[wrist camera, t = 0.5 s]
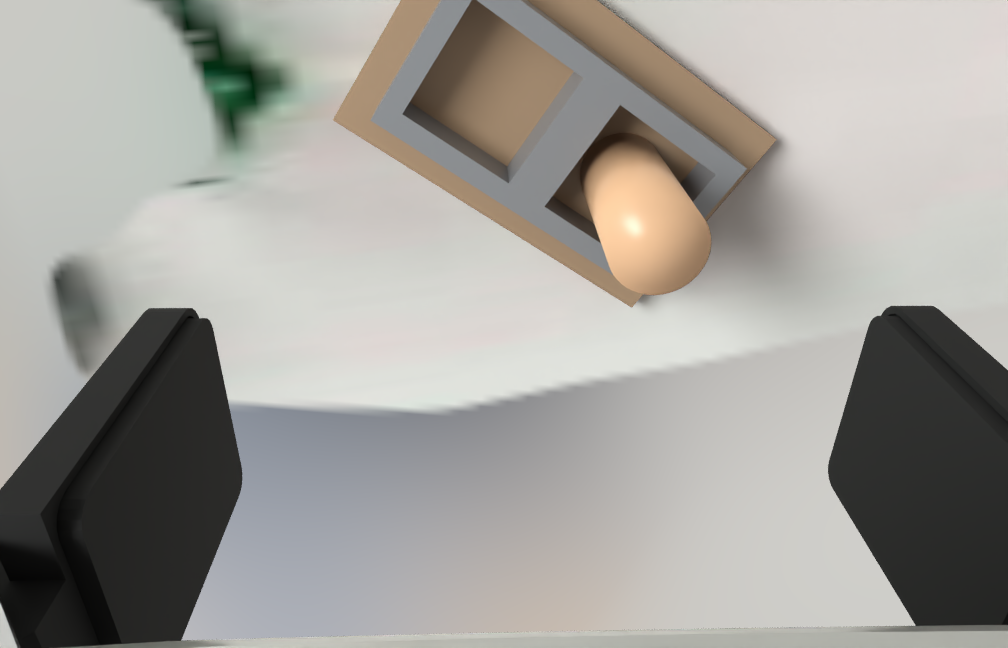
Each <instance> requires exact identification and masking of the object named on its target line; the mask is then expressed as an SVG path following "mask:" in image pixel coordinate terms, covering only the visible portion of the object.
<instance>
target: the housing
mask: <svg viewBox="0 0 1008 648" xmlns="http://www.w3.org/2000/svg"><path fill="white" fill-rule="evenodd" d="M333 120H334V121H335V122H337V123H338V124H340V125H342V126H343V127H345V128H346V129H348V130H350V131H351V132H353V133H354V134H356V135H358V136H359V137H361V138H362V139H364V140H365V141H367V142H369V143H370V144H372V145H373V146H375V147H377V148H378V149H380V150H381V151H383V152H385V153H386V154H388V155H389V156H391V157H393V158H394V159H396V160H397V161H399V162H401V163H402V164H404V165H405V166H407V167H409V168H410V169H412V170H413V171H415V172H416V173H418V174H420V175H421V176H423V177H424V178H426V179H428V180H429V181H431V182H432V183H434V184H436V185H437V186H439V187H440V188H442V189H444V190H445V191H447V192H448V193H450V194H452V195H453V196H455V197H456V198H458V199H460V200H461V201H463V202H464V203H466V204H467V205H469V206H471V207H472V208H474V209H475V210H477V211H479V212H480V213H482V214H483V215H485V216H487V217H488V218H490V219H491V220H493V221H495V222H496V223H498V224H499V225H501V226H503V227H504V228H506V229H507V230H509V231H511V232H512V233H514V234H515V235H517V236H518V237H520V238H522V239H523V240H525V241H526V242H528V243H530V244H531V245H533V246H534V247H536V248H538V249H539V250H541V251H542V252H544V253H546V254H547V255H549V256H550V257H552V258H554V259H555V260H557V261H558V262H560V263H562V264H563V265H565V266H566V267H568V268H569V269H571V270H573V271H574V272H576V273H577V274H579V275H581V276H582V277H584V278H585V279H587V280H589V281H590V282H592V283H593V284H595V285H597V286H598V287H600V288H601V289H603V290H605V291H606V292H608V293H609V294H611V295H613V296H614V297H616V298H617V299H619V300H620V301H622V302H624V303H625V304H627V305H628V306H630V307H633V305H634V304H635V303H636V302H637V301H638V300H639V299H640V297H641V296H642V295H643V294H646V295H660V294H666V293H670V292H673V291H676V290H678V289H680V288H682V287H684V286H685V285H687V284H688V283H689V282H691V281H692V280H693V279H694V278H695V277H696V276H697V275H698V274H699V273H700V272H701V270H702V269H703V267H704V266H705V264H706V262H707V260H708V257H709V254H710V249H711V234H710V230H709V227H708V224H707V222H706V221H707V220H708V219H709V217H710V216H711V215H712V214H713V213H714V212H715V211H716V209H717V208H718V207H719V206H720V205H721V204H722V202H723V201H724V200H725V199H726V198H727V197H728V195H729V194H730V193H731V192H732V191H733V190H734V189H735V187H736V186H737V185H738V184H739V183H740V182H741V180H742V179H743V178H744V177H745V176H746V175H747V173H748V172H749V171H750V170H751V169H752V168H753V167H754V165H755V164H756V163H757V162H758V161H759V160H760V158H761V157H762V156H763V155H764V154H765V153H766V151H767V150H768V149H769V148H770V147H771V146H772V145H773V143H774V142H775V141H776V140H777V139H775V138H774V137H773V136H772V135H770V134H769V133H768V132H767V131H765V130H764V129H763V128H761V127H760V126H759V125H758V124H756V123H755V122H754V121H752V120H751V119H750V118H749V117H747V116H746V115H745V114H743V113H742V112H741V111H740V110H738V109H737V108H736V107H734V106H733V105H732V104H730V103H729V102H728V101H727V100H725V99H724V98H723V97H721V96H720V95H719V94H718V93H716V92H715V91H714V90H712V89H711V88H710V87H708V86H707V85H706V84H705V83H703V82H702V81H701V80H699V79H698V78H697V77H696V76H694V75H693V74H692V73H690V72H689V71H688V70H687V69H685V68H684V67H683V66H681V65H680V64H679V63H677V62H676V61H675V60H674V59H672V58H671V57H670V56H668V55H667V54H666V53H665V52H663V51H662V50H661V49H659V48H658V47H657V46H656V45H654V44H653V43H652V42H650V41H649V40H648V39H646V38H645V37H644V36H643V35H641V34H640V33H639V32H637V31H636V30H635V29H634V28H632V27H631V26H630V25H628V24H627V23H626V22H624V21H623V20H622V19H621V18H619V17H618V16H617V15H615V14H614V13H613V12H612V11H610V10H609V9H608V8H606V7H605V6H604V5H603V4H601V3H600V2H599V1H597V0H401V1H400V3H399V5H398V6H397V8H396V10H395V12H394V13H393V15H392V17H391V19H390V21H389V22H388V24H387V26H386V28H385V29H384V31H383V33H382V35H381V36H380V38H379V40H378V42H377V43H376V45H375V47H374V49H373V50H372V52H371V54H370V56H369V57H368V59H367V61H366V63H365V65H364V66H363V68H362V70H361V72H360V73H359V75H358V77H357V79H356V80H355V82H354V84H353V86H352V87H351V89H350V91H349V93H348V94H347V96H346V98H345V100H344V101H343V103H342V105H341V107H340V109H339V110H338V112H337V114H336V116H335V117H334V119H333Z"/></svg>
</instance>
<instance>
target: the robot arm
mask: <svg viewBox="0 0 1008 648" xmlns="http://www.w3.org/2000/svg"><path fill="white" fill-rule="evenodd" d="M828 474H829V480H830V483H831V486H832V488H833V490H834V491H835V493H836V495H837V496H838V498H839V500H840V501H841V503H842V505H843V506H844V508H845V509H846V511H847V513H848V514H849V516H850V518H851V519H852V521H853V523H854V524H855V526H856V528H857V529H858V531H859V532H860V534H861V536H862V537H863V539H864V541H865V542H866V544H867V546H868V547H869V549H870V551H871V552H872V554H873V556H874V557H875V559H876V561H877V562H878V564H879V565H880V567H881V569H882V570H883V572H884V574H885V575H886V577H887V579H888V580H889V582H890V584H891V585H892V587H893V588H894V590H895V592H896V593H897V595H898V597H899V598H900V600H901V602H902V603H903V605H904V607H905V608H906V610H907V612H908V613H909V615H910V617H911V618H912V620H913V621H914V623H915V625H916V626H873V627H872V626H871V627H870V626H869V627H868V626H867V627H794V628H793V627H789V628H725V629H668V630H667V629H664V630H609V631H555V632H504V633H463V634H462V633H461V634H418V635H377V636H339V637H337V636H333V637H292V638H257V639H256V638H254V639H221V640H187V641H181V639H182V637H183V634H184V632H185V629H186V627H187V624H188V622H189V619H190V617H191V614H192V612H193V609H194V607H195V604H196V602H197V599H198V597H199V594H200V592H201V589H202V587H203V584H204V582H205V579H206V577H207V574H208V572H209V569H210V567H211V564H212V562H213V560H214V557H215V555H216V552H217V549H218V547H219V544H220V542H221V540H222V537H223V535H224V532H225V529H226V527H227V525H228V522H229V519H230V517H231V515H232V512H233V510H234V507H235V505H236V502H237V499H238V496H239V494H240V491H241V485H242V468H241V462H240V458H239V453H238V448H237V444H236V438H235V434H234V428H233V424H232V419H231V414H230V409H229V404H228V399H227V394H226V390H225V385H224V380H223V375H222V370H221V365H220V361H219V356H218V351H217V346H216V341H215V336H214V332H213V328H212V324H211V322H210V321H209V320H208V319H207V318H199V317H198V315H197V313H196V311H195V310H193V309H192V308H151V309H148V310H146V311H145V312H144V313H143V314H142V316H141V317H140V318H139V319H138V321H137V322H136V323H135V324H134V326H133V327H132V328H131V329H130V330H129V332H128V333H127V334H126V335H125V337H124V338H123V339H122V340H121V342H120V343H119V344H118V345H117V347H116V348H115V349H114V350H113V351H112V353H111V354H110V355H109V356H108V358H107V359H106V360H105V361H104V363H103V364H102V365H101V366H100V367H99V369H98V370H97V371H96V372H95V374H94V375H93V376H92V377H91V379H90V380H89V381H88V382H87V383H86V385H85V386H84V387H83V389H82V390H81V391H80V392H79V393H78V395H77V396H76V397H75V398H74V400H73V401H72V402H71V403H70V404H69V406H68V407H67V408H66V409H65V411H64V412H63V413H62V414H61V416H60V417H59V418H58V419H57V421H56V422H55V423H54V424H53V425H52V427H51V428H50V429H49V430H48V432H47V433H46V434H45V435H44V437H43V438H42V439H41V440H40V441H39V443H38V444H37V445H36V446H35V448H34V449H33V450H32V451H31V452H30V454H29V455H28V456H27V458H26V459H25V460H24V461H23V462H22V464H21V465H20V466H19V467H18V469H17V470H16V471H15V472H14V473H13V475H12V476H11V477H10V478H9V480H8V481H7V482H6V483H5V485H4V486H3V487H2V488H1V490H0V648H1008V370H1007V369H1006V368H1004V367H1003V366H1002V365H1001V364H1000V363H999V362H998V361H997V360H995V359H994V358H993V357H992V356H991V355H990V354H989V353H987V352H986V351H985V350H984V349H983V348H982V347H981V346H980V345H978V344H977V343H976V342H975V341H974V340H973V339H972V338H971V337H969V336H968V335H967V334H966V333H965V332H964V331H963V330H961V329H960V328H959V327H958V326H957V325H956V324H955V323H953V322H952V321H951V320H950V319H949V318H948V317H947V316H946V315H944V314H943V313H942V312H941V311H940V310H939V309H937V308H935V307H934V306H890V307H888V308H887V309H886V310H885V311H884V312H883V313H882V315H881V316H876V317H875V318H873V320H872V321H871V322H870V325H869V327H868V331H867V334H866V337H865V341H864V344H863V348H862V351H861V355H860V358H859V361H858V365H857V368H856V372H855V375H854V378H853V382H852V385H851V388H850V392H849V395H848V399H847V402H846V405H845V409H844V412H843V416H842V419H841V422H840V426H839V430H838V433H837V436H836V440H835V443H834V446H833V450H832V453H831V457H830V460H829V465H828Z"/></svg>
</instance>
